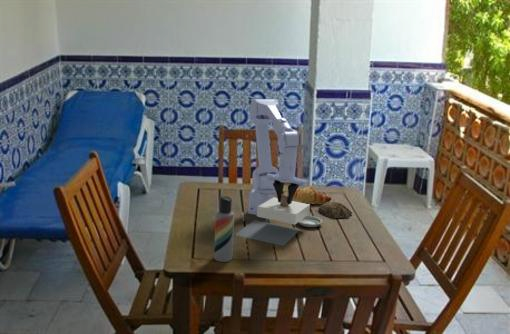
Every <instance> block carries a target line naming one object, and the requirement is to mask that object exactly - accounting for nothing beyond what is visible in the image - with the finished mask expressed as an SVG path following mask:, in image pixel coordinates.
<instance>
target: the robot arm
mask: <svg viewBox="0 0 510 334" xmlns="http://www.w3.org/2000/svg"><path fill="white" fill-rule="evenodd" d="M249 112H250V113H249V114H250V116H249V117H250V120H251V122H252V123H254V128H255V138H256V149H257V159H258V166H257V167H256V168H255V169H254V170H253V172H252V180H251V183H252V184H251V185H252V188H253V189H251V190H250V193H249V197H248V211H247V214H251V215H255V216H257V209H258V206H260V205H261V204H263V203H265V202H267V201H268V200H270V199H272V198H274V197H275V198H278V202H280V201H281V194H284V192H283V191H284V186H285V184H289V185H288V186H287V192H288V204H291V203H292V199H293V196H294V194H295V192H296V190H297V189H298V188H299V187H302V188H303V187H304V188H307V187H308V186H307V185H308V180H306V179H302V178H299V177H296V169H297V168H296V167H297V156H298V155H297V153H298V148H299V147H300V146H301V143H302V137H301V133H300V131H299V130H296V129H293V128H292V126H291V124H290V123H289V122H288V120H287V118H285V117H284V118H283V117H282V115H281V112H280V104H279V101H278V99H277V98H267V99H266V98H265V99H264V98H253V99H252V100H251V102H250V105H249ZM270 123H272V130H273V131H274V133H275V135H276V136H277V143H278V152H279V162H278V163H279V165H278V168H276V167H275V166H273V165H272V164H273V163H272V154H271V144H270V132H269V124H270Z"/></svg>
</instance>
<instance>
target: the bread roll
mask: <svg viewBox="0 0 510 334" xmlns="http://www.w3.org/2000/svg"><path fill="white" fill-rule="evenodd" d="M318 210H319V211H320V212H321V213H320V212H319V211H318ZM318 210H317V211H318V212H319V213H320V214H322V215H323V214H324V215H323V216H325V215H327V216H326V217H328V216H329V217H328V218H330V217H332V218H331V219H334V218H337V219H345V218H348V217H350V218H351V216H352V215H353V211H352V210H351V209H349V207H347V206H346V205H345V204H343V203H341V202H335V201H329V202H327V203H323V204H320V206H319V207H318ZM351 214H352V215H351ZM350 215H351V216H350ZM348 219H349V218H348Z"/></svg>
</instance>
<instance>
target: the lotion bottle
mask: <svg viewBox="0 0 510 334" xmlns="http://www.w3.org/2000/svg"><path fill="white" fill-rule="evenodd" d="M218 201H219V202H218V210H217V211H216V212H215V215H214V216H215V219H214V221H215V222H214V223H215V224H214V245H213V246H214V247H213V248H214V249H213V250H214V251H213V258H214V260H215V261H217V262H220V263H226V262H231V261H232V259H233V248H234V229H235V212H234V211H232V206H233V203H232V201H233V199H232V198H231V197H230V196H227V195H225V196H223V195H221V196H220V197H219V199H218Z"/></svg>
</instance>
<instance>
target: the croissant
mask: <svg viewBox="0 0 510 334" xmlns="http://www.w3.org/2000/svg"><path fill="white" fill-rule="evenodd" d="M283 194H288V191H287V192H285V193H284V192H283ZM331 200H332V197H331V196H329V195H326V194H325V193H320V192H319V190H315V189H314V188H313V187H311V186H306V187H304V188H303V187H302V188H300V189H298V188H297V190H296V192H295V194H294V196H293V199H292V201H295V202H300V203H308V204H312V203H313V204H314V203H326V202H327V203H328V202H332V201H331Z"/></svg>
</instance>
